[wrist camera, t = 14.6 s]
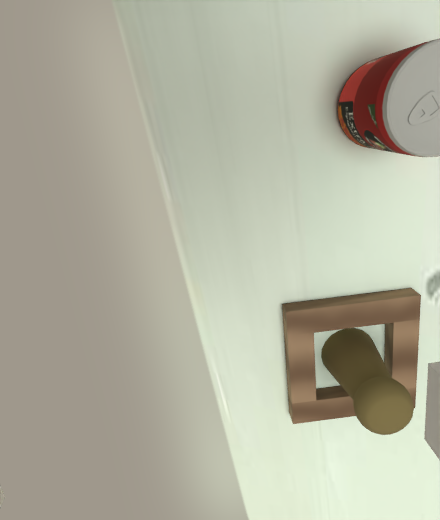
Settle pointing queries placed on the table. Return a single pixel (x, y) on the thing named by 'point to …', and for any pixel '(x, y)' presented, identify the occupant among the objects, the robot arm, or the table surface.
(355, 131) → the canned food
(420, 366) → the table surface
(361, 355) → the cork
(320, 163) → the table surface
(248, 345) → the table surface
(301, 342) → the socket plate
